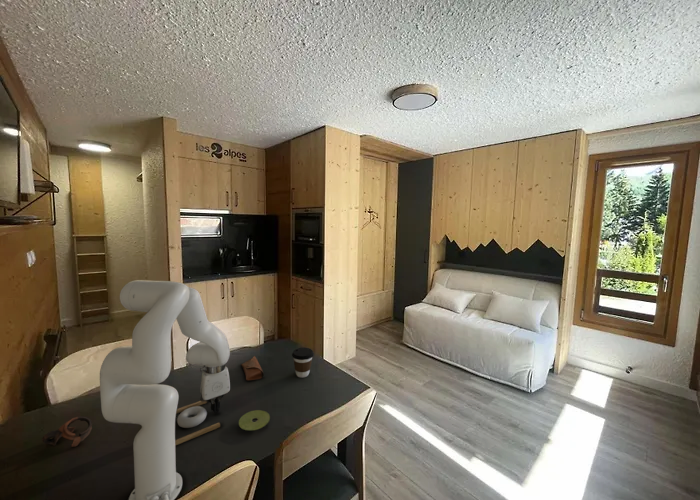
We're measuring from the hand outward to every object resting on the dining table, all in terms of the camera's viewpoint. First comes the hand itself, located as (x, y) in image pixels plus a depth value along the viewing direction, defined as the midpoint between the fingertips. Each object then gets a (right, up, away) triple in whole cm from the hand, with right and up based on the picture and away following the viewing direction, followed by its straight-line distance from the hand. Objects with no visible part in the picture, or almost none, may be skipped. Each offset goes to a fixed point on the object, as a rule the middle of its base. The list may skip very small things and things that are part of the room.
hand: (215, 410), depth 116 cm
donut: (-6, -1, -5) cm, 8 cm away
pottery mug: (-42, -1, -18) cm, 45 cm away
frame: (-7, -1, -6) cm, 9 cm away
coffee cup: (+30, +1, +31) cm, 43 cm away
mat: (+18, -2, -6) cm, 19 cm away
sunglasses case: (+4, +2, +32) cm, 32 cm away
